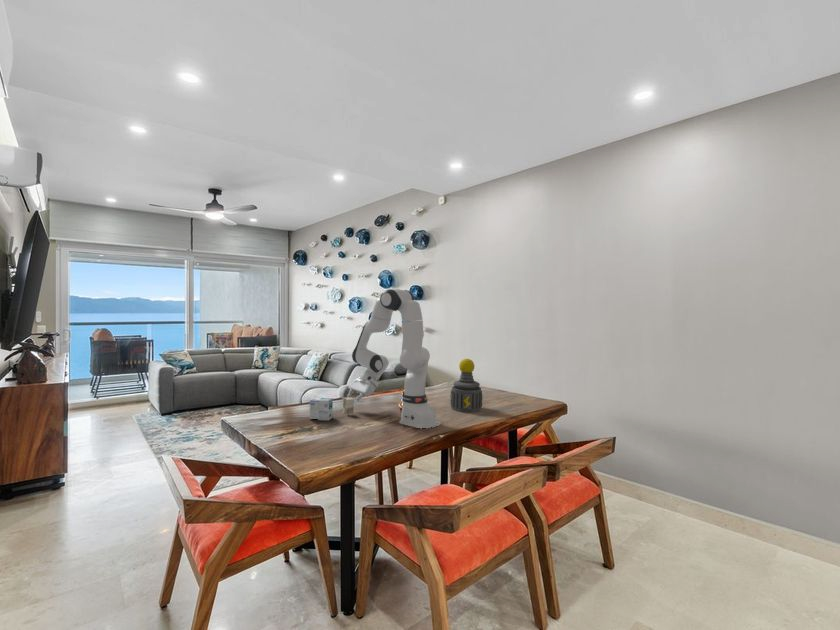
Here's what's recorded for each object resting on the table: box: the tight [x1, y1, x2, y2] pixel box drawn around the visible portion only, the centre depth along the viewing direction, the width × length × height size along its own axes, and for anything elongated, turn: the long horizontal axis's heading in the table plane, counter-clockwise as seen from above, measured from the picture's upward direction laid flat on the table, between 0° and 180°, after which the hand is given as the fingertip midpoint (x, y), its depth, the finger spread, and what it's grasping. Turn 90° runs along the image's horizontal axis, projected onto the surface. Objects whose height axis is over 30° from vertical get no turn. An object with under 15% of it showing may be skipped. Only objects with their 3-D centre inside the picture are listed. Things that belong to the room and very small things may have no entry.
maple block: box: [342, 396, 355, 416], centre depth 234 cm, size 5×4×9 cm
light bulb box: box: [309, 397, 334, 421], centre depth 224 cm, size 11×7×11 cm, turn 84°
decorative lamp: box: [449, 358, 484, 413], centre depth 251 cm, size 19×19×30 cm
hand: (352, 398), depth 235 cm, fingers open, 8 cm apart
